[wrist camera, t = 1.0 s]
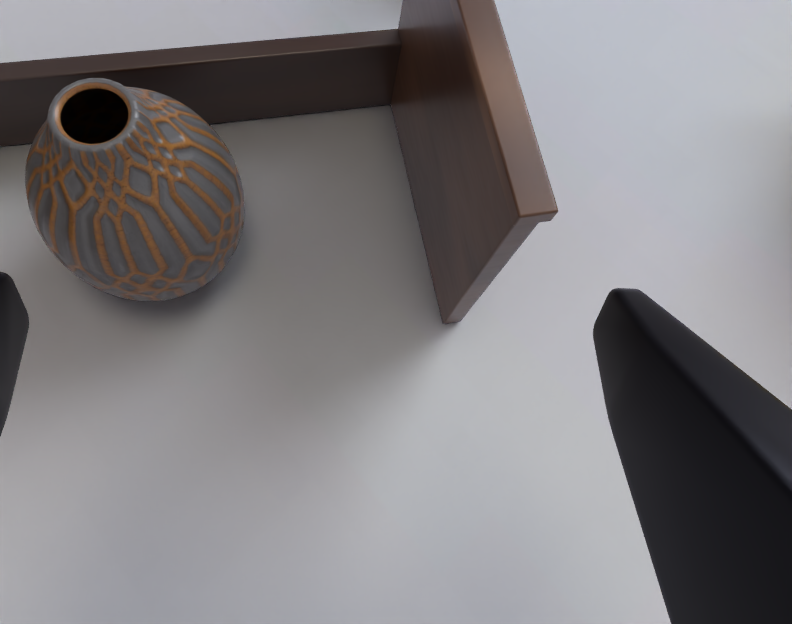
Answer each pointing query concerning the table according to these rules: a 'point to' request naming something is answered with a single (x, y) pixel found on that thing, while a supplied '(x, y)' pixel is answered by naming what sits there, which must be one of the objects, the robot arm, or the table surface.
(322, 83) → the wooden bookend shelf
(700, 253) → the table surface
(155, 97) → the vase
